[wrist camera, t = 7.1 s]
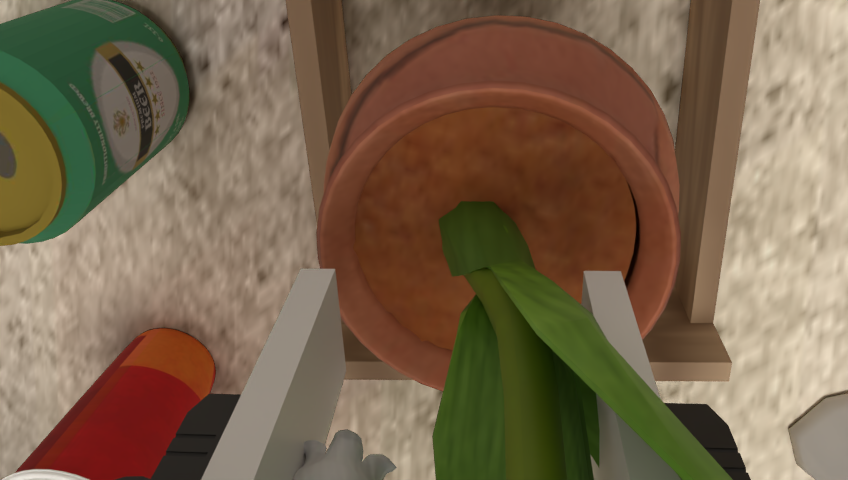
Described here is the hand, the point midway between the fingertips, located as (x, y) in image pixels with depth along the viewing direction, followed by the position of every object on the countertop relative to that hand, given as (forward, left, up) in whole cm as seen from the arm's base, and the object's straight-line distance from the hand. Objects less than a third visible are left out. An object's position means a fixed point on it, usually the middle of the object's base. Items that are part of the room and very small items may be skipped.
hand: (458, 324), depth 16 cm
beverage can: (-18, 0, -22) cm, 29 cm away
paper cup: (-19, -18, -22) cm, 34 cm away
